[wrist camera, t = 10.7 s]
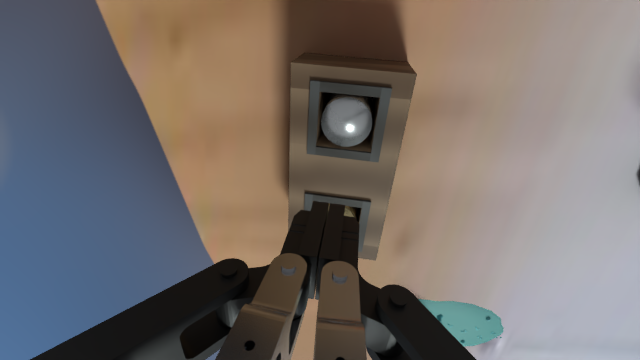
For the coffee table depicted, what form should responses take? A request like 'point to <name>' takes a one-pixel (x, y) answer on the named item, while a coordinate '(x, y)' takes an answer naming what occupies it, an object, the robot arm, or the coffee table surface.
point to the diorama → (466, 321)
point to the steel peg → (347, 119)
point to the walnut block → (355, 161)
